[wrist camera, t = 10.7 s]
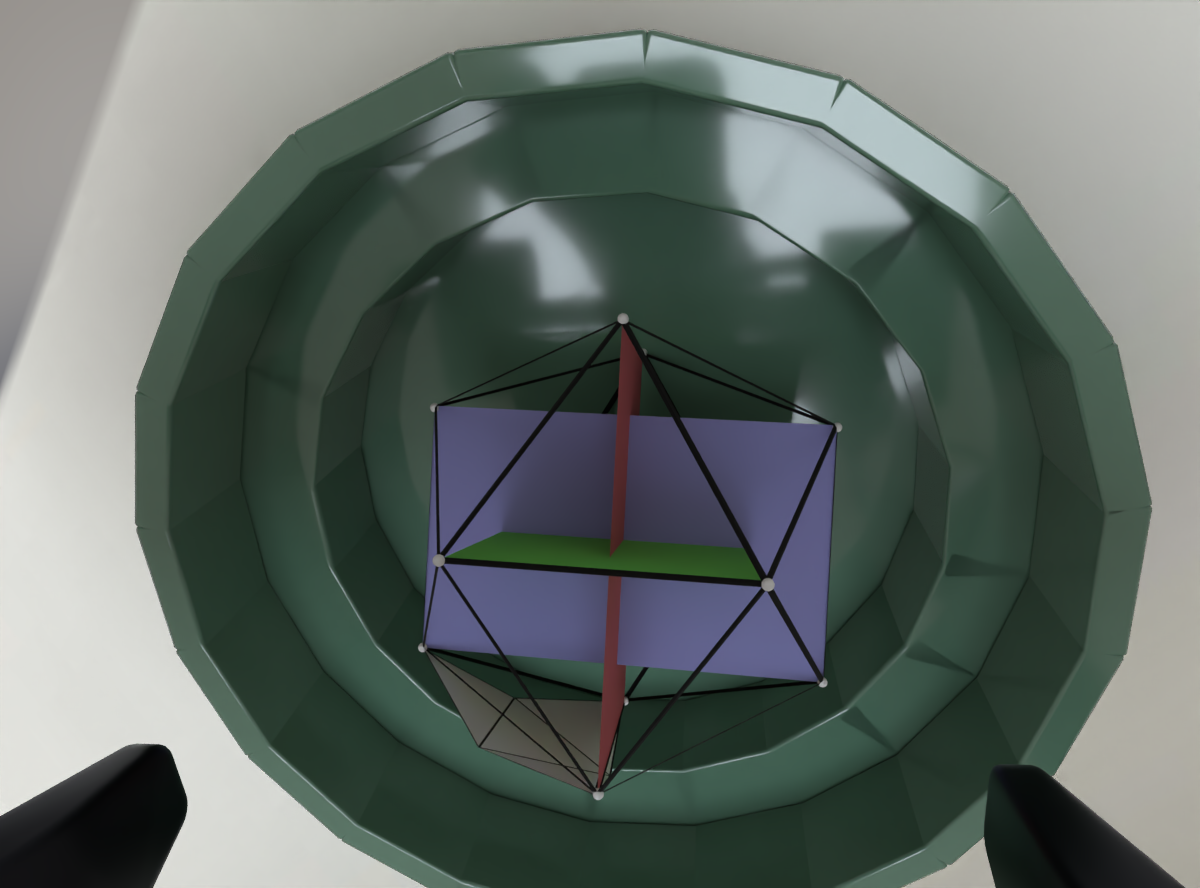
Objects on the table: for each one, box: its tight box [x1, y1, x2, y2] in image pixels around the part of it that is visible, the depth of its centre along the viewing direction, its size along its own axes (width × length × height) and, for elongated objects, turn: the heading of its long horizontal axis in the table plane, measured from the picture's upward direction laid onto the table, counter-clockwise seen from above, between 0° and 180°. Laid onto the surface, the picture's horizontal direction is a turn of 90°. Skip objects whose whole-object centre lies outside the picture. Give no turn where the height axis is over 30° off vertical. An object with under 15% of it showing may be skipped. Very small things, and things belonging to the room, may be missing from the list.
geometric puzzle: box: [418, 313, 842, 800], centre depth 13 cm, size 7×7×8 cm
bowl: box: [135, 29, 1152, 888], centre depth 15 cm, size 15×15×5 cm
